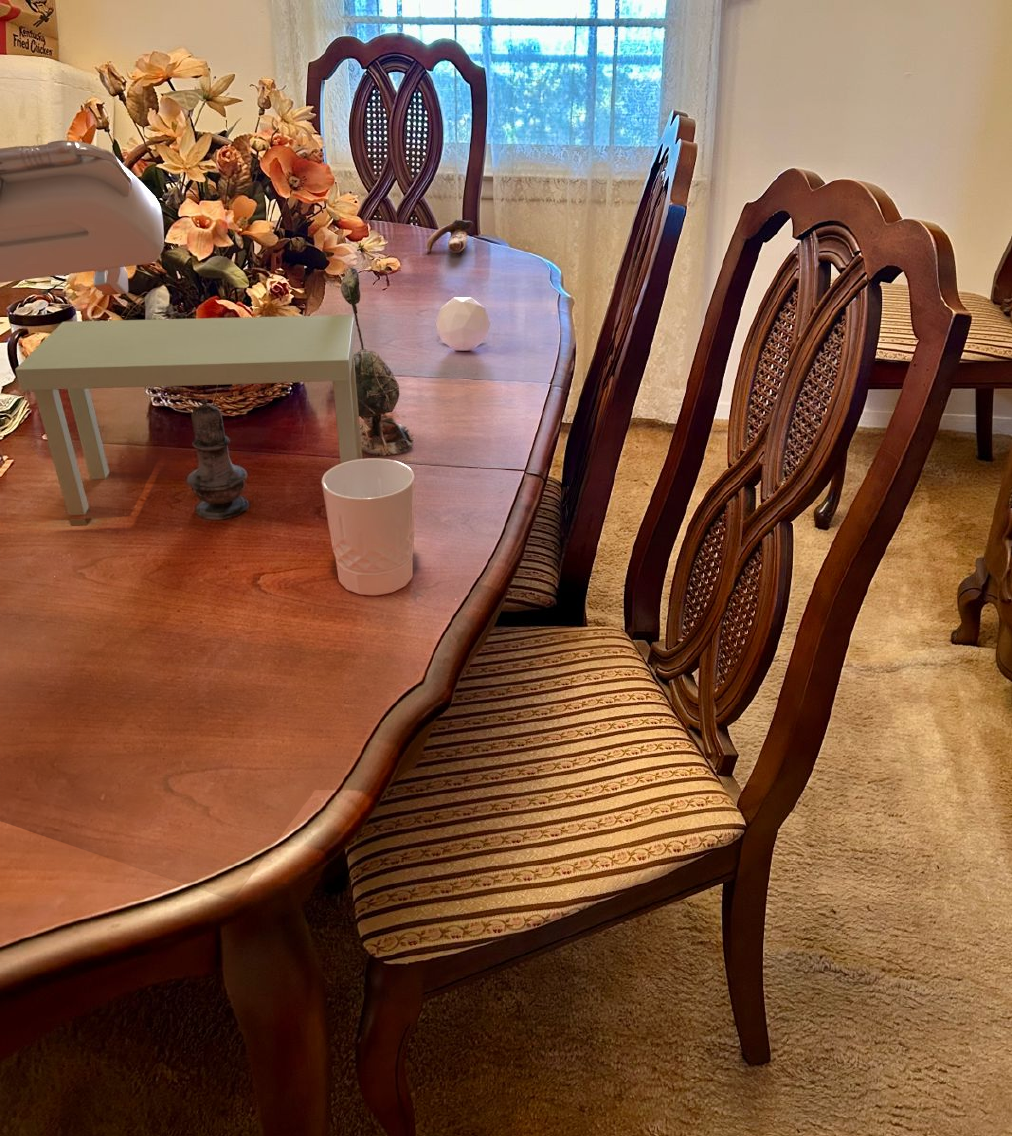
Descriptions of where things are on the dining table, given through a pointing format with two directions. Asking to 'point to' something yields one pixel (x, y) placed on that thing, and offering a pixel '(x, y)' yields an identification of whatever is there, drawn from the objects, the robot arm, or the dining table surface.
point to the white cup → (371, 523)
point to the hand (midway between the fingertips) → (45, 293)
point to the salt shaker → (215, 468)
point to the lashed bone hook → (452, 235)
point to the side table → (181, 373)
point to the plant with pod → (375, 391)
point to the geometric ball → (462, 323)
